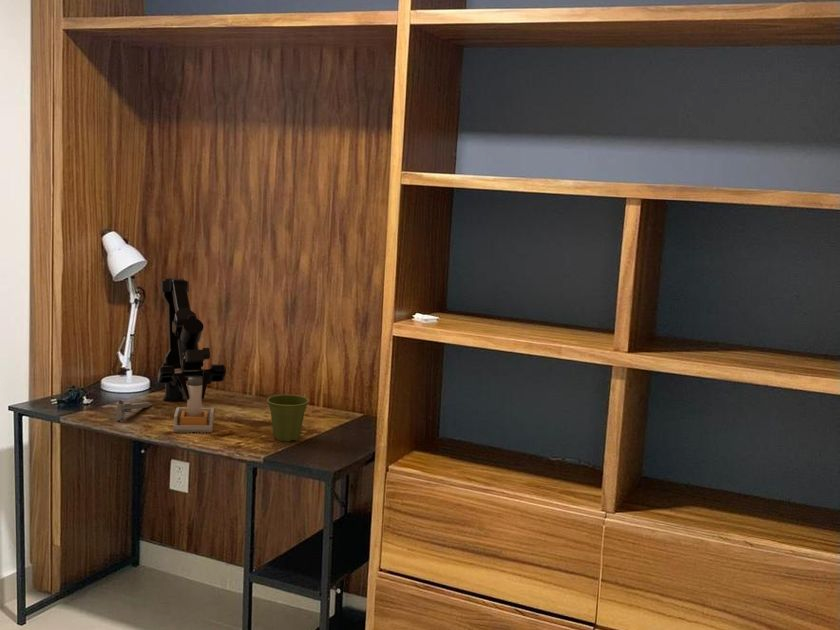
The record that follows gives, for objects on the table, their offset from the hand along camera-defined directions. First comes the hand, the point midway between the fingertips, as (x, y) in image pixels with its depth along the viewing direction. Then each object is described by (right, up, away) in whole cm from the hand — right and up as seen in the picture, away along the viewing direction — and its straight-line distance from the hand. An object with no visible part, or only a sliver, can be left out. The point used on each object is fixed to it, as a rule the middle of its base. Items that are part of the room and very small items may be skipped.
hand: (195, 398), depth 243 cm
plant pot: (+26, -11, -2) cm, 29 cm away
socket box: (-1, -8, +2) cm, 9 cm away
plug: (-1, -6, +2) cm, 7 cm away
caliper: (-22, -6, +14) cm, 26 cm away
